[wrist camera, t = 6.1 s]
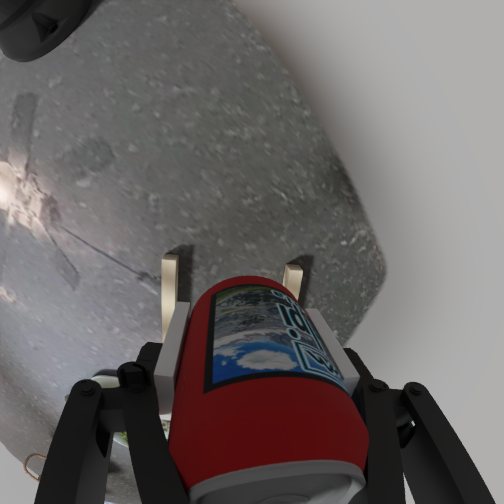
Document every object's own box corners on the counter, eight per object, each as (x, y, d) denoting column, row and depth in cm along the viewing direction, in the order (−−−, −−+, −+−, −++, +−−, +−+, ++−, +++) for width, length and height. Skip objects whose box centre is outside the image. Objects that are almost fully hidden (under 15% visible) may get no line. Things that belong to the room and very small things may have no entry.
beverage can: (322, 308, 17) (423, 464, 6) (255, 379, 18) (284, 540, 7) (234, 246, 16) (260, 427, 4) (170, 331, 17) (125, 511, 5)
